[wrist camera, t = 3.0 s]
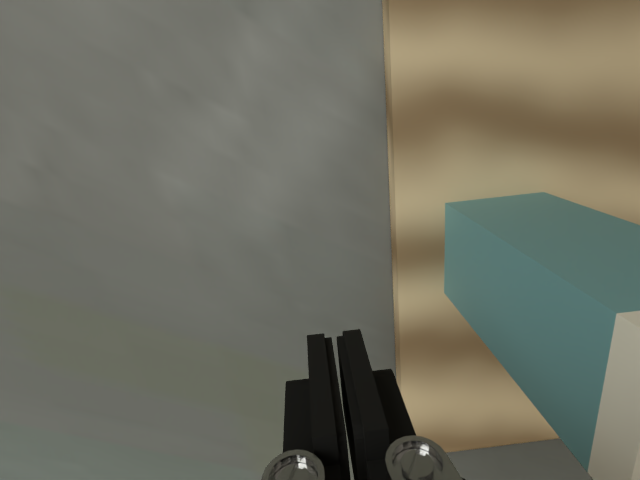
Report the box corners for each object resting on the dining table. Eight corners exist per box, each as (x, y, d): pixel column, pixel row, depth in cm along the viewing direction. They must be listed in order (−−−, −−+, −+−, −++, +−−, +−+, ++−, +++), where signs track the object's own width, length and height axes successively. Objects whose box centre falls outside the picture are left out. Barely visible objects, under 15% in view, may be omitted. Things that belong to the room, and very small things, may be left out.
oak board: (382, -6, 17) (388, -14, 16) (900, -56, 18) (941, -67, 16) (398, 442, 26) (403, 457, 25) (745, 398, 26) (766, 411, 25)
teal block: (445, 202, 19) (663, 343, 8) (543, 192, 19) (899, 314, 8) (444, 292, 21) (622, 516, 9) (534, 282, 21) (818, 490, 10)
